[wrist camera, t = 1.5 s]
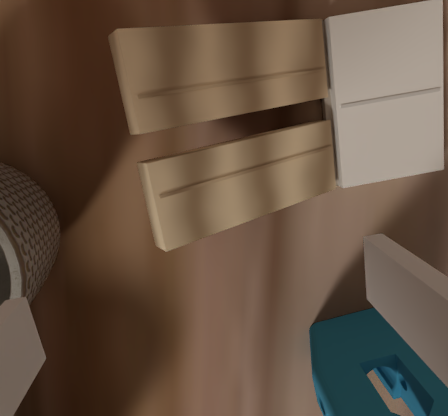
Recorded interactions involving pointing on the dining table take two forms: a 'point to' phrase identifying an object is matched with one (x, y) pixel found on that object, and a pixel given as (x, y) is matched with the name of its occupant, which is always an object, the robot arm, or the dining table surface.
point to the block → (370, 368)
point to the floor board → (385, 92)
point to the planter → (25, 235)
